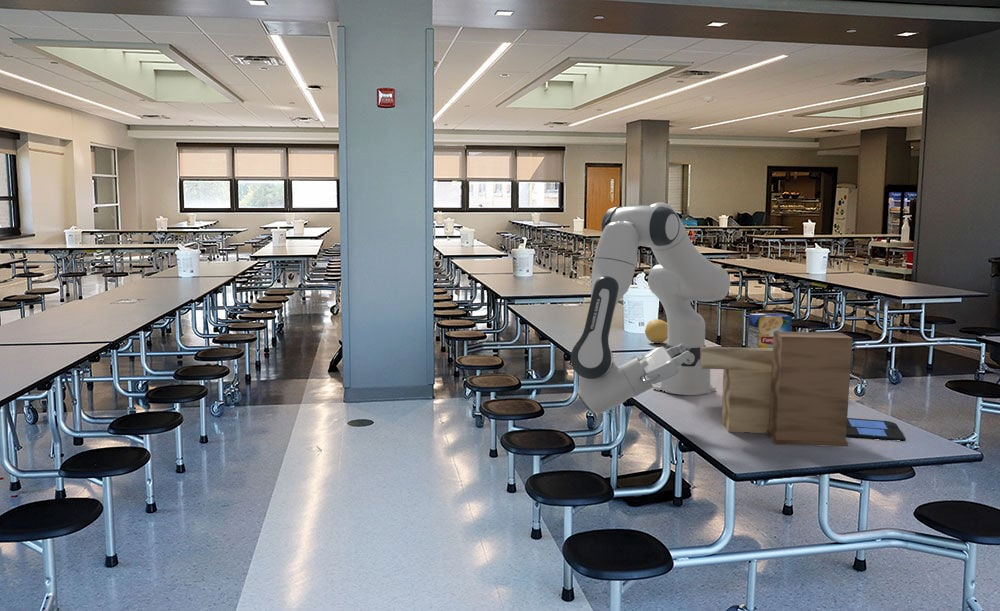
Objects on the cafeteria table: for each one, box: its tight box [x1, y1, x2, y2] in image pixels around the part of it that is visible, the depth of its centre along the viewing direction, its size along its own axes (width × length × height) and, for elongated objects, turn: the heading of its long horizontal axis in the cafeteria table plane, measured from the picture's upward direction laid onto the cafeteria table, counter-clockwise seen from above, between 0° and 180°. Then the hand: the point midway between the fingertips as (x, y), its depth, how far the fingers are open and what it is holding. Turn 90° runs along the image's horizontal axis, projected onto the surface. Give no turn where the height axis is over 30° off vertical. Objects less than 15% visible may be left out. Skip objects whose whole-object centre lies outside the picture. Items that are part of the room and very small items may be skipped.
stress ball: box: [644, 318, 668, 344], centre depth 317 cm, size 10×10×10 cm
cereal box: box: [747, 312, 793, 348], centre depth 248 cm, size 7×11×22 cm, turn 100°
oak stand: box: [721, 369, 772, 434], centre depth 198 cm, size 9×22×17 cm, turn 85°
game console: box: [846, 417, 907, 442], centre depth 196 cm, size 14×13×2 cm
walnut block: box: [765, 331, 853, 448], centre depth 187 cm, size 8×17×26 cm, turn 85°
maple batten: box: [700, 346, 773, 370], centre depth 197 cm, size 4×20×5 cm, turn 85°
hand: (687, 349), depth 198 cm, fingers open, 8 cm apart
